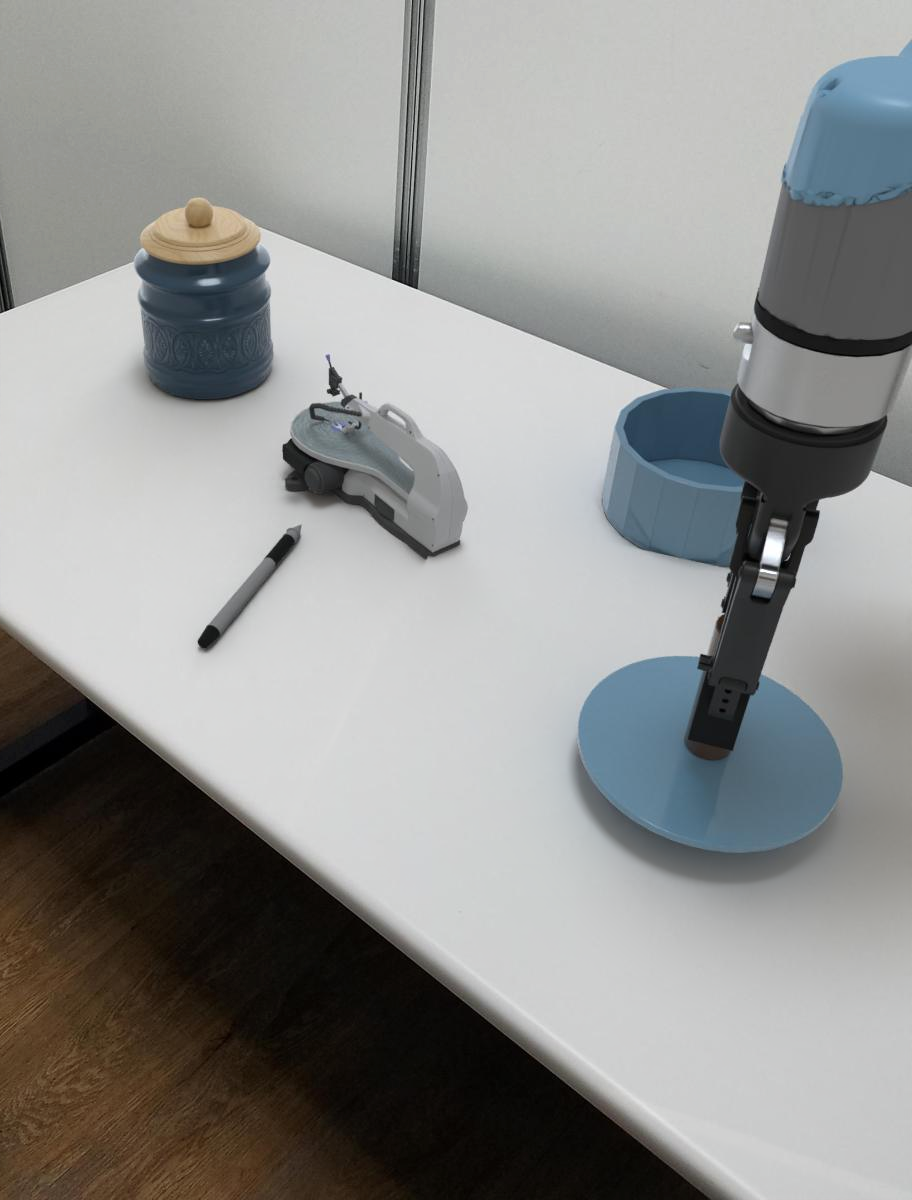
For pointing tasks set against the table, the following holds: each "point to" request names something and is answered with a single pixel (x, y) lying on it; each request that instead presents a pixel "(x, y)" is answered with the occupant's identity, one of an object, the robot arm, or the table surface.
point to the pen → (248, 588)
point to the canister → (204, 302)
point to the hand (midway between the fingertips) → (714, 720)
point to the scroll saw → (378, 468)
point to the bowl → (674, 476)
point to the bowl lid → (708, 759)
